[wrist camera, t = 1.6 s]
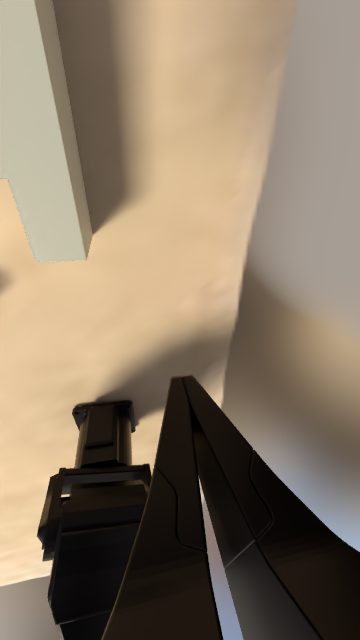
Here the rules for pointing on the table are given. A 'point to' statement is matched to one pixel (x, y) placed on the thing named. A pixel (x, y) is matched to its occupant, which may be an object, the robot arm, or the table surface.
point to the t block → (40, 134)
